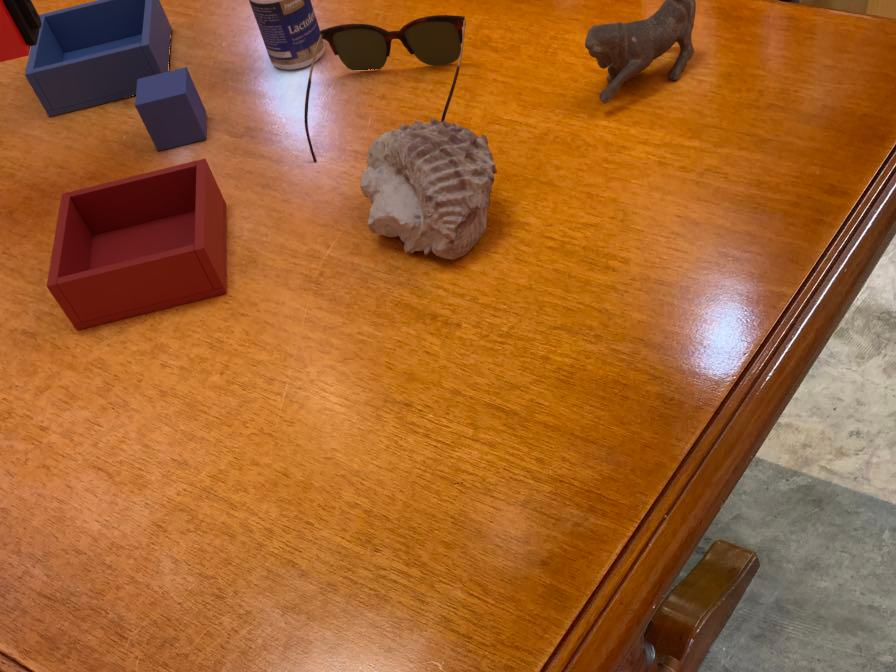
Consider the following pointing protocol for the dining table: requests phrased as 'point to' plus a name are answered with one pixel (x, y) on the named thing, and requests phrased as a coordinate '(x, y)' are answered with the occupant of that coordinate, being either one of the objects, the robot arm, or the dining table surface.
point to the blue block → (171, 109)
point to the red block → (10, 37)
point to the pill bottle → (288, 31)
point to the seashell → (430, 187)
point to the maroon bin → (139, 245)
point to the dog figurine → (642, 43)
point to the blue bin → (97, 53)
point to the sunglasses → (371, 47)
